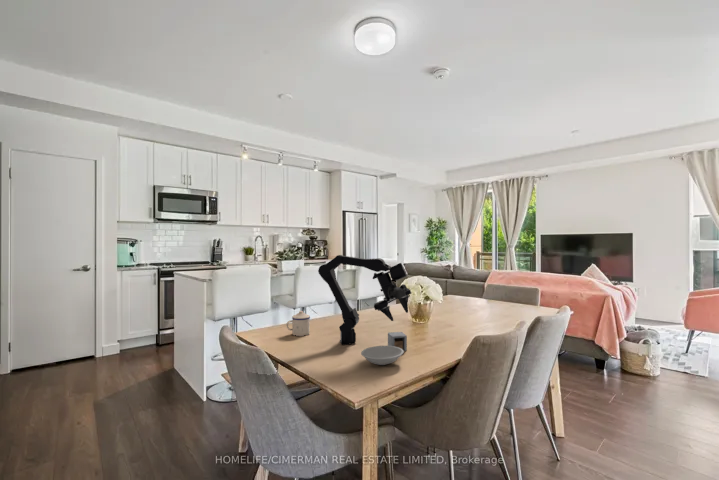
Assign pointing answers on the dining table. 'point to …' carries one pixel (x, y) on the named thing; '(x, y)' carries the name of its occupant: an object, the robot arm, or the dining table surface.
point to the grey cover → (397, 336)
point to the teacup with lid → (300, 324)
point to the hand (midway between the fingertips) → (400, 316)
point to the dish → (382, 354)
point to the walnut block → (398, 343)
